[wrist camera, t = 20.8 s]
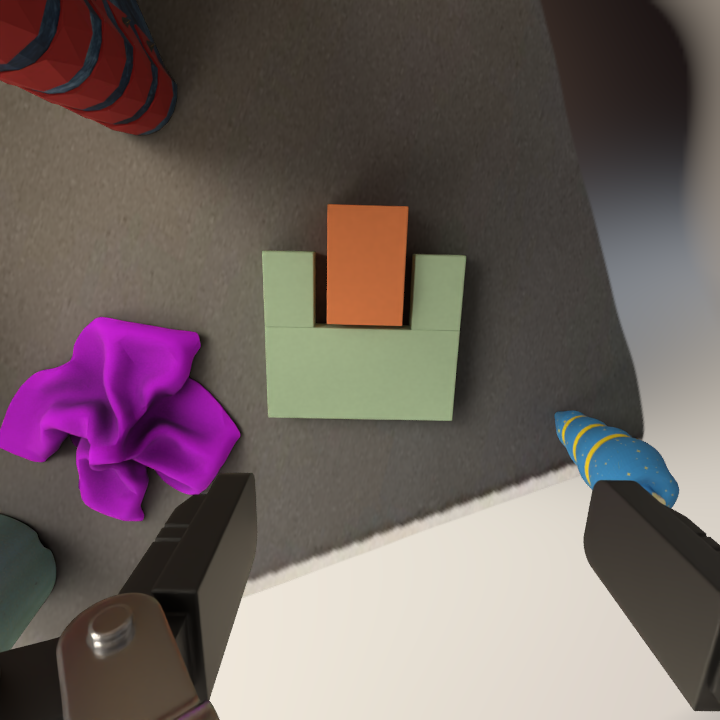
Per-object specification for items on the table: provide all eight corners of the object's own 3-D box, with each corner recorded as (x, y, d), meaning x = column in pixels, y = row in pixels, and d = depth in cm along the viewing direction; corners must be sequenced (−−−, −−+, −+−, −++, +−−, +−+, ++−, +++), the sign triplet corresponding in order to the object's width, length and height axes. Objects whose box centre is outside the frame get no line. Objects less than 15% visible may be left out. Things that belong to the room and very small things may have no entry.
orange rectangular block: (404, 209, 35) (408, 206, 32) (398, 319, 38) (402, 326, 35) (329, 206, 35) (327, 203, 32) (329, 317, 37) (326, 324, 35)
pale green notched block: (460, 255, 36) (466, 255, 34) (447, 412, 40) (452, 420, 38) (266, 250, 36) (261, 251, 34) (272, 408, 40) (267, 417, 38)
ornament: (570, 445, 41) (687, 559, 26) (519, 432, 40) (609, 539, 26) (593, 396, 40) (729, 486, 25) (540, 381, 39) (648, 464, 25)
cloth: (170, 281, 36) (134, 289, 31) (275, 461, 41) (261, 499, 35) (-45, 389, 39) (-117, 416, 33) (77, 548, 43) (33, 597, 38)
